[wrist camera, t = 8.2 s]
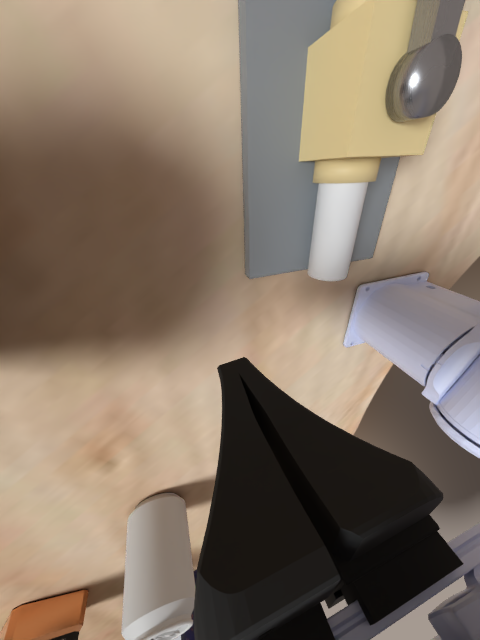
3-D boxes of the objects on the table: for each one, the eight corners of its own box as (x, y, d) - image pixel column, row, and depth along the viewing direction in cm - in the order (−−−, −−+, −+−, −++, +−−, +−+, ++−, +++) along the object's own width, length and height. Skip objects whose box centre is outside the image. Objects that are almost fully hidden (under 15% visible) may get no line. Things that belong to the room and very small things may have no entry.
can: (121, 504, 30) (108, 662, 20) (180, 482, 32) (195, 616, 22) (136, 526, 34) (131, 666, 24) (187, 505, 36) (203, 627, 26)
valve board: (468, -156, 11) (678, -372, 7) (364, 255, 22) (418, 274, 18) (231, -265, 8) (333, -792, 4) (245, 274, 19) (275, 304, 14)
